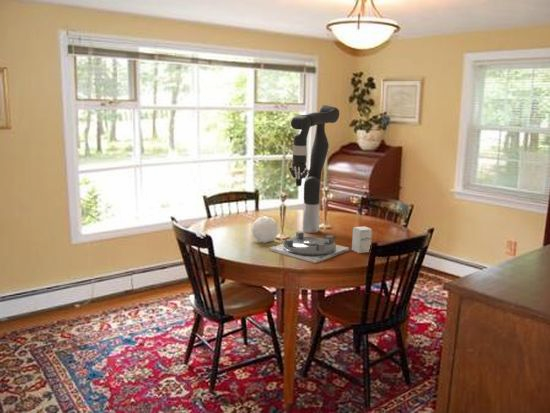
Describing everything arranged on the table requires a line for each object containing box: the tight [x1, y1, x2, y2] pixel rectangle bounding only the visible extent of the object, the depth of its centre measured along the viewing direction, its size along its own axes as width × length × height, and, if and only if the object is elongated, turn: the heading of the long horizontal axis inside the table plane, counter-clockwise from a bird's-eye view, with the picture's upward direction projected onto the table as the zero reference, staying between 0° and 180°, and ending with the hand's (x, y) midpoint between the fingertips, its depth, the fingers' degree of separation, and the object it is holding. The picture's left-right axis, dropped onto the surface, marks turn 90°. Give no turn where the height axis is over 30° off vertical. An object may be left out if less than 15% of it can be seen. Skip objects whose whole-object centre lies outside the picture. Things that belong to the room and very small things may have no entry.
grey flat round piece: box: [282, 231, 337, 255], centre depth 265 cm, size 28×28×5 cm
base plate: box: [268, 243, 350, 264], centre depth 265 cm, size 30×30×6 cm
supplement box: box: [351, 225, 373, 254], centre depth 266 cm, size 7×7×13 cm
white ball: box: [251, 215, 279, 244], centre depth 279 cm, size 14×15×15 cm
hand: (298, 185), depth 273 cm, fingers closed
